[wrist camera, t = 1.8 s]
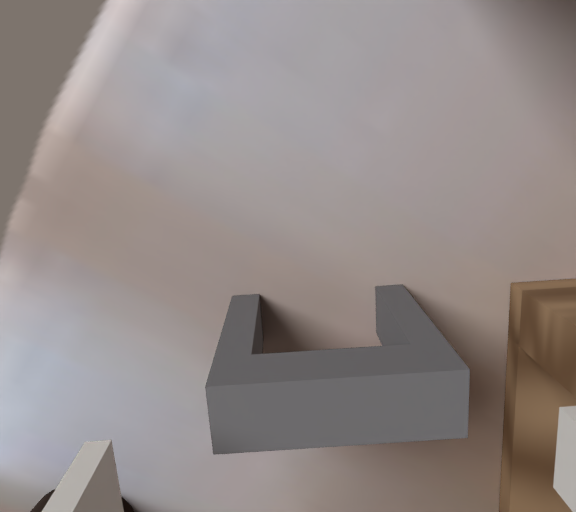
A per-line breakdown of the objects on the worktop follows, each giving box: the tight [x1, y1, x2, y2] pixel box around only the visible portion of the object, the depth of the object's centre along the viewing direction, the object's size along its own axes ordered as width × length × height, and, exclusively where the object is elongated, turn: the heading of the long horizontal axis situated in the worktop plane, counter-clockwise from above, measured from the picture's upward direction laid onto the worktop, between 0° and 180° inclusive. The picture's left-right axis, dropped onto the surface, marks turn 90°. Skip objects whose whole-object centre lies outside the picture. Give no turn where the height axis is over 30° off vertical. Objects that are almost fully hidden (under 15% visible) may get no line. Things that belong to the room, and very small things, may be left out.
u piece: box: [205, 285, 470, 454], centre depth 21 cm, size 9×3×9 cm, turn 94°
